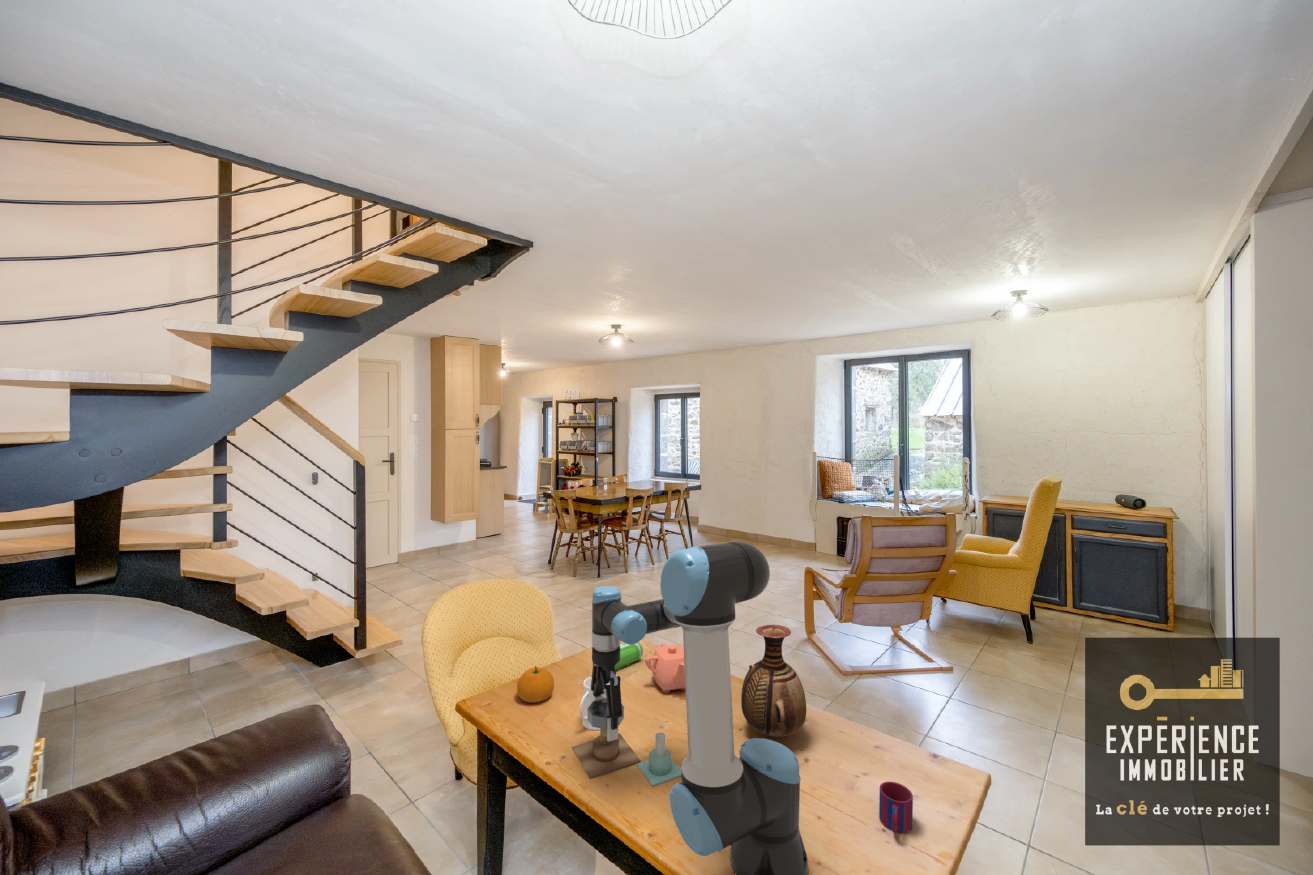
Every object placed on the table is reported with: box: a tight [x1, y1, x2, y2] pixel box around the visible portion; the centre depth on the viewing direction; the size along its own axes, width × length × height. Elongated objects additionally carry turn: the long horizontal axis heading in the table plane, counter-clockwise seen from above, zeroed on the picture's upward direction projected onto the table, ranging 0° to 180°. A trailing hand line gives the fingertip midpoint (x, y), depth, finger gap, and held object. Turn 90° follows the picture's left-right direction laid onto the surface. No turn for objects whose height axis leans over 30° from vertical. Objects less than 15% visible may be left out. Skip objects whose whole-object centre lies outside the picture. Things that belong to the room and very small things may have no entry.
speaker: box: [615, 641, 644, 671], centre depth 190 cm, size 18×7×8 cm, turn 135°
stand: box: [636, 732, 682, 788], centre depth 132 cm, size 9×9×9 cm
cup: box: [878, 781, 914, 834], centre depth 114 cm, size 7×10×7 cm
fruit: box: [516, 665, 555, 704], centre depth 167 cm, size 12×12×10 cm
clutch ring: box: [587, 698, 625, 729], centre depth 138 cm, size 9×9×3 cm
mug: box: [578, 676, 610, 731], centre depth 152 cm, size 12×8×12 cm
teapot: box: [644, 642, 686, 694], centre depth 175 cm, size 17×16×13 cm
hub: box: [572, 728, 642, 780], centre depth 138 cm, size 14×14×8 cm
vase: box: [740, 624, 807, 737], centre depth 148 cm, size 21×18×30 cm
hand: (605, 729), depth 138 cm, fingers closed on clutch ring, 9 cm apart
